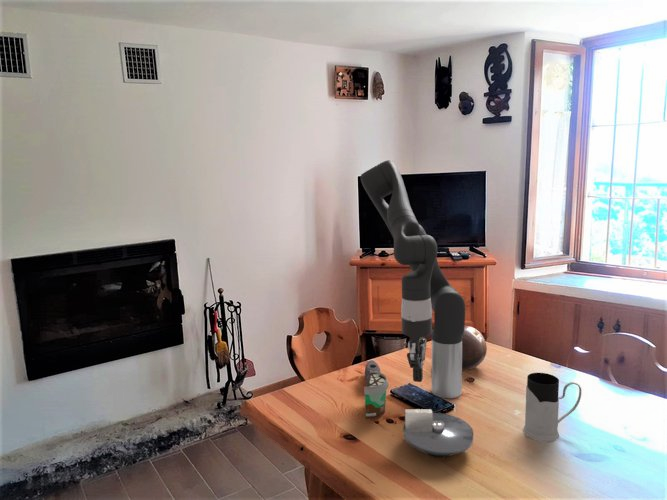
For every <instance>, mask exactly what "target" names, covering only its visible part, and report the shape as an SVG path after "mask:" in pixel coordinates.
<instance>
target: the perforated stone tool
mask: <svg viewBox="0 0 667 500" xmlns="http://www.w3.org/2000/svg"><path fill="white" fill-rule="evenodd" d="M370 371H377V372H380V373H382V371H381V368H380V366H379V364H378V363H377V362H376V361H375V360H373V359H370V360H369V361H368V362H366V364H365V369H364V377H365V383H366V385H367V382H368V379H369V376H370Z"/></svg>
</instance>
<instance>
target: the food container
mask: <svg viewBox="0 0 667 500" xmlns="http://www.w3.org/2000/svg"><path fill="white" fill-rule="evenodd" d="M380 372H381V371H380ZM380 372H377V371H370V376H369V379H368V382H367V384H366V385H365V386H364V395H363V396H364V406H365V407H364V408H365V419H369V420H372V419H377V418H381V417H382V416H384V414H385V413H386V401H387V400H386V399H387V390H388V388H389V387H390V385H389V381H388V378H387V376H386V375H385V374H384V373H382V372H381V373H380Z"/></svg>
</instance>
